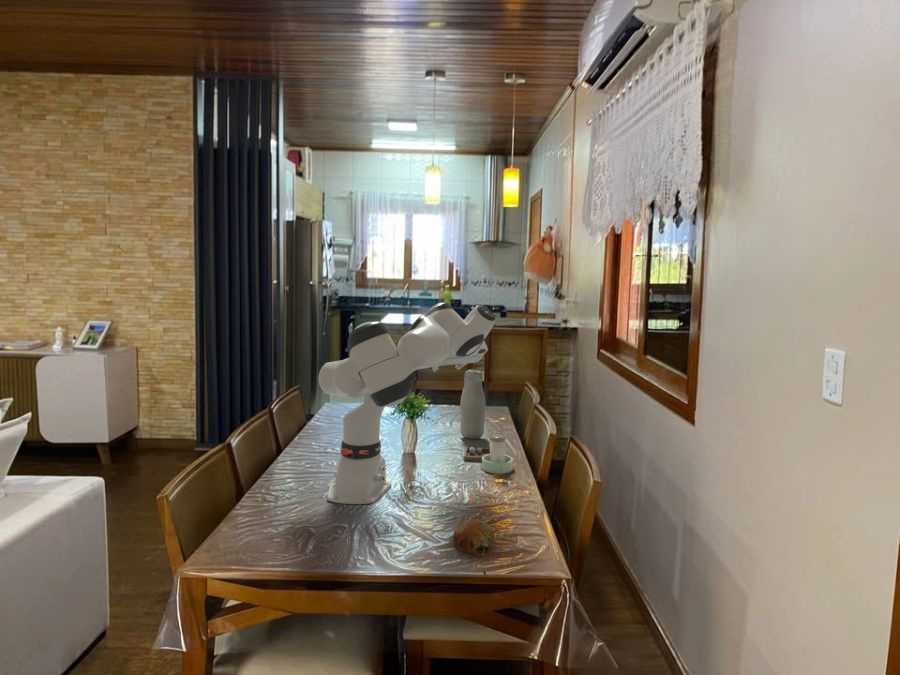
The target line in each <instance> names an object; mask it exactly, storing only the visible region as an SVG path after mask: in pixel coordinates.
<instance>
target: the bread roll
mask: <svg viewBox="0 0 900 675" xmlns="http://www.w3.org/2000/svg"><path fill="white" fill-rule="evenodd" d="M452 535H453V536H452V537H453V538H452V539H453V545H454V546H455V547H456V549H457V550H458V551H460V552H463V553H465V554H470V555H471V554H472V555H475V554H484V553H486V552H487V553H488V551H489V550H491V549H492V547H493V545H494V544H495V535H494V530H493V529H492V527H491V526H490V525H489V524H488V522H486V521H483V520H480V519H475V518H473V519H467V520H466V519H465V520H462V522H460V523H459V524H458V525H457V527H456V528H455V529H454V531H453V534H452Z"/></svg>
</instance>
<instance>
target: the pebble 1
mask: <svg viewBox="0 0 900 675" xmlns="http://www.w3.org/2000/svg"><path fill="white" fill-rule="evenodd" d="M469 448H470V449H469V453H470V454H474V453H475V451H476V450H475V448H476V447H472V446H471V447H469Z"/></svg>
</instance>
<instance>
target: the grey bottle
mask: <svg viewBox="0 0 900 675" xmlns="http://www.w3.org/2000/svg"><path fill="white" fill-rule="evenodd" d="M463 379H464V385H463V389H462V393H461V396H460V404H459V405H460V422H459V423H460V426H459V427H460V428H459V429H460V433H461V436H462V437H463V438H464V439H469V440H479V439H481V438H482V437H483V436H484V434H485V423H486V420H485V419H486V396H485V392H484V388H483V372H482V371H480V370H477V369H468V370H466V371H465V372H464V376H463Z"/></svg>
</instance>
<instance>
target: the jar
mask: <svg viewBox="0 0 900 675" xmlns="http://www.w3.org/2000/svg"><path fill="white" fill-rule="evenodd" d="M489 449H490V462H493V463H504V462H505V455H506V436H505V435H503V434H492V435H489Z"/></svg>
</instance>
